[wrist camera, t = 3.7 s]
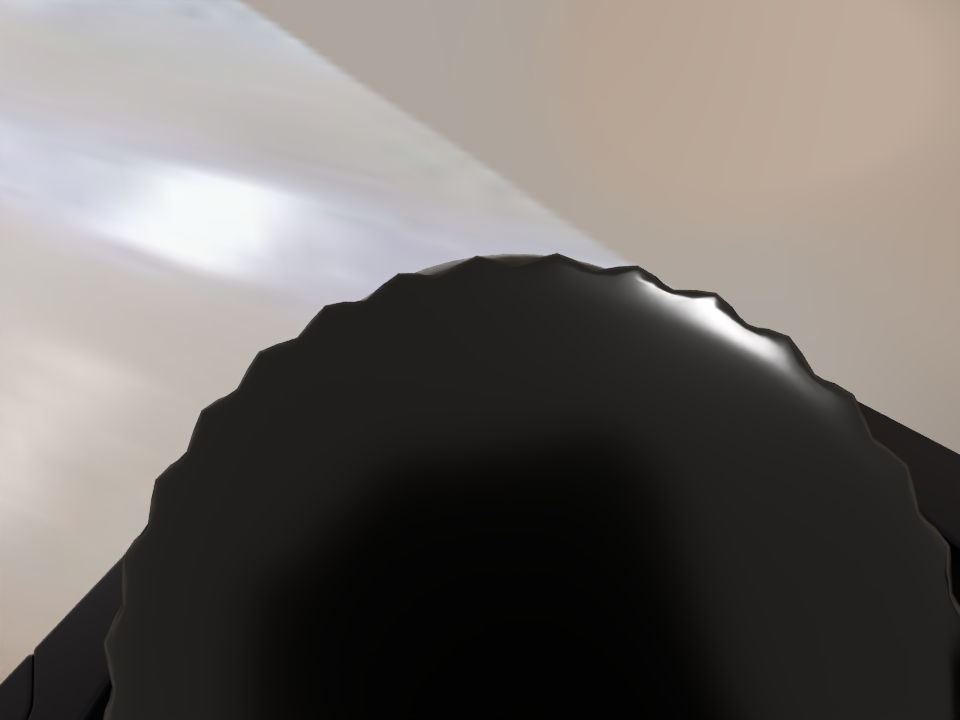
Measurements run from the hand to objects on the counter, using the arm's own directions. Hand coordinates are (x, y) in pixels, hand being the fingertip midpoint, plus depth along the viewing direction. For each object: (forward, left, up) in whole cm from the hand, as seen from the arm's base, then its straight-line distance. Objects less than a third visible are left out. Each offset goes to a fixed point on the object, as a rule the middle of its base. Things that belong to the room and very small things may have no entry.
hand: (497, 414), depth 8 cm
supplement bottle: (-1, 0, -7) cm, 7 cm away
